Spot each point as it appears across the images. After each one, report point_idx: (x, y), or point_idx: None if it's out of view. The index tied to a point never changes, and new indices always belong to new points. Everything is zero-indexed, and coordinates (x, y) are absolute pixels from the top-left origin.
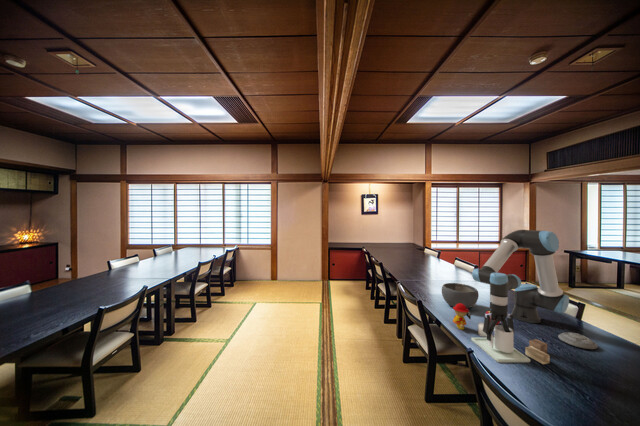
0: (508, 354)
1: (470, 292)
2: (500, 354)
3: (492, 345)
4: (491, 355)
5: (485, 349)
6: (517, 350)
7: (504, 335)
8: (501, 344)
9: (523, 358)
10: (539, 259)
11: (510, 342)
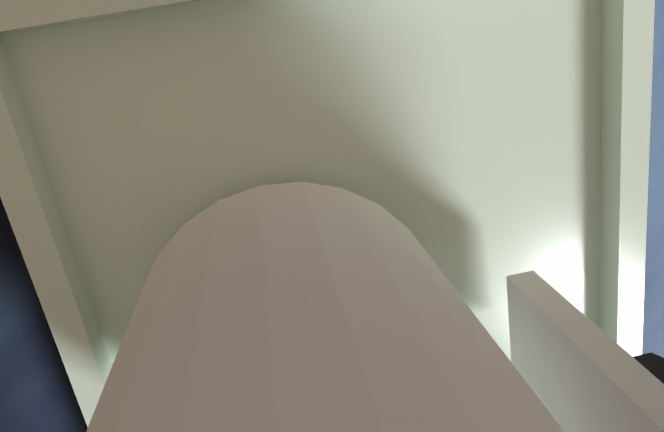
0: (277, 183)
1: None
2: (428, 154)
3: (545, 294)
4: (637, 61)
5: (646, 222)
6: (50, 312)
7: (491, 415)
8: (435, 271)
9: (73, 10)
10: None
11: (246, 284)
